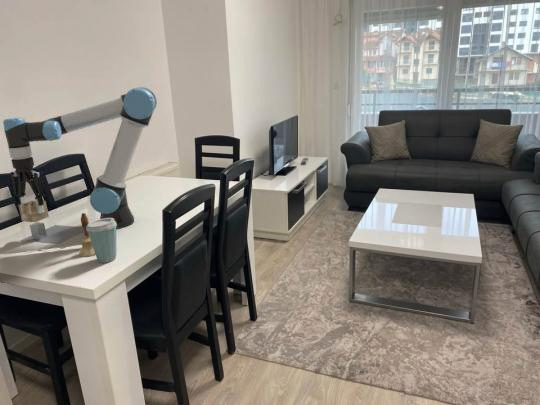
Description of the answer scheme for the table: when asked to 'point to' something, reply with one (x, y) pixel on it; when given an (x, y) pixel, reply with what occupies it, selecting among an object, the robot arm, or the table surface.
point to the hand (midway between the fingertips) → (34, 212)
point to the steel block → (38, 231)
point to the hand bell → (86, 239)
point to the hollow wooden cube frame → (32, 212)
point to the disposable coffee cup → (103, 238)
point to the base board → (58, 234)
